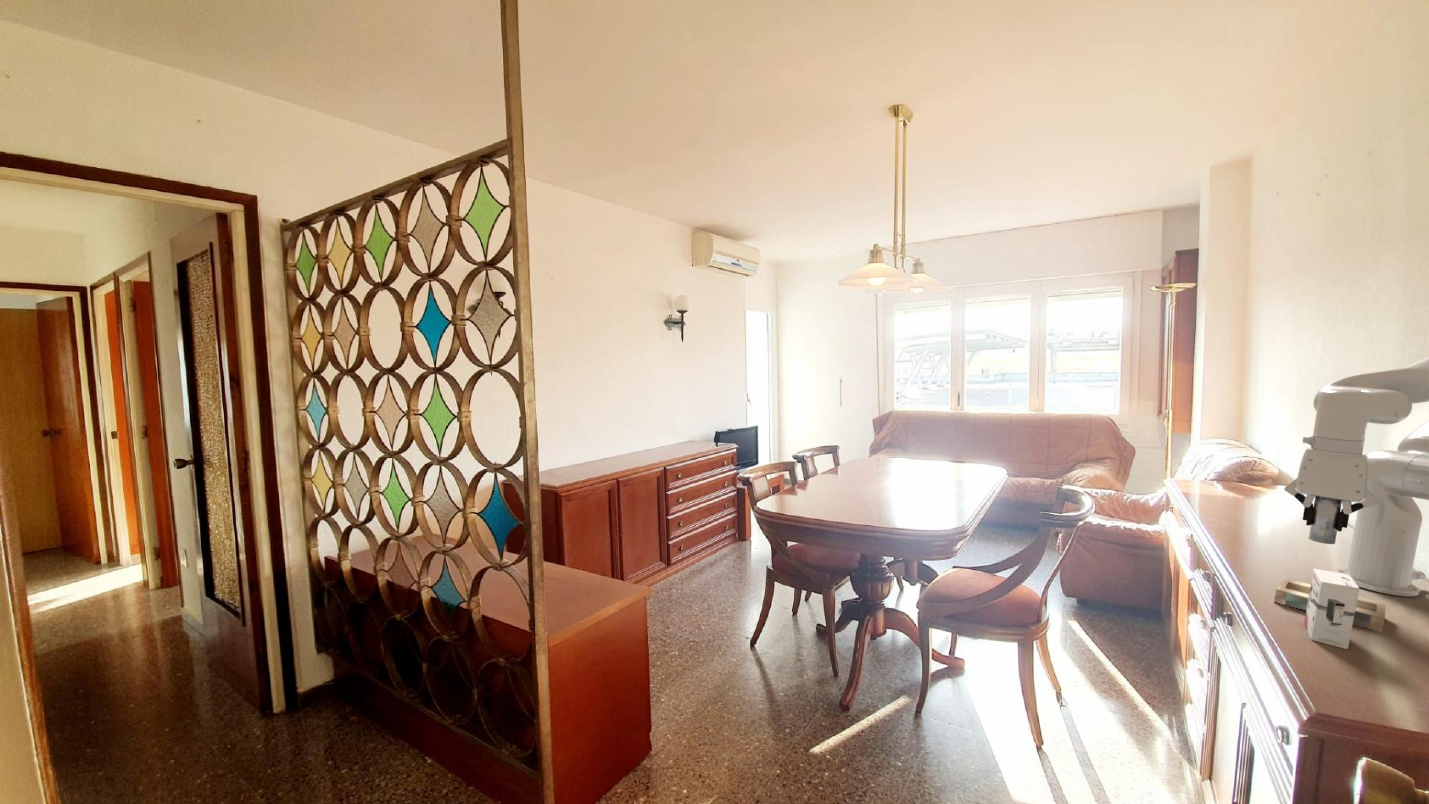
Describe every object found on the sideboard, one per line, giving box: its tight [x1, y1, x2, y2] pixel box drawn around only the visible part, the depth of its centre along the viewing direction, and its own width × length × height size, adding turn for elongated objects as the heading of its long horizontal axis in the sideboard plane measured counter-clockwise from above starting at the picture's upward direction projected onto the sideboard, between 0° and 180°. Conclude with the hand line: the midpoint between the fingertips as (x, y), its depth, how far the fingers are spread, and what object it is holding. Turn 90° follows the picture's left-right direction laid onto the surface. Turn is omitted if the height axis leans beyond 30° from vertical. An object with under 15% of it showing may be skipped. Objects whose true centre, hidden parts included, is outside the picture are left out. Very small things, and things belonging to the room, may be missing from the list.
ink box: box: [1303, 567, 1360, 650], centre depth 106 cm, size 9×5×12 cm, turn 141°
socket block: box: [1273, 577, 1387, 633], centre depth 117 cm, size 15×10×3 cm
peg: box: [1308, 496, 1342, 545], centre depth 124 cm, size 4×4×11 cm
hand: (1324, 526), depth 124 cm, fingers closed on peg, 4 cm apart
